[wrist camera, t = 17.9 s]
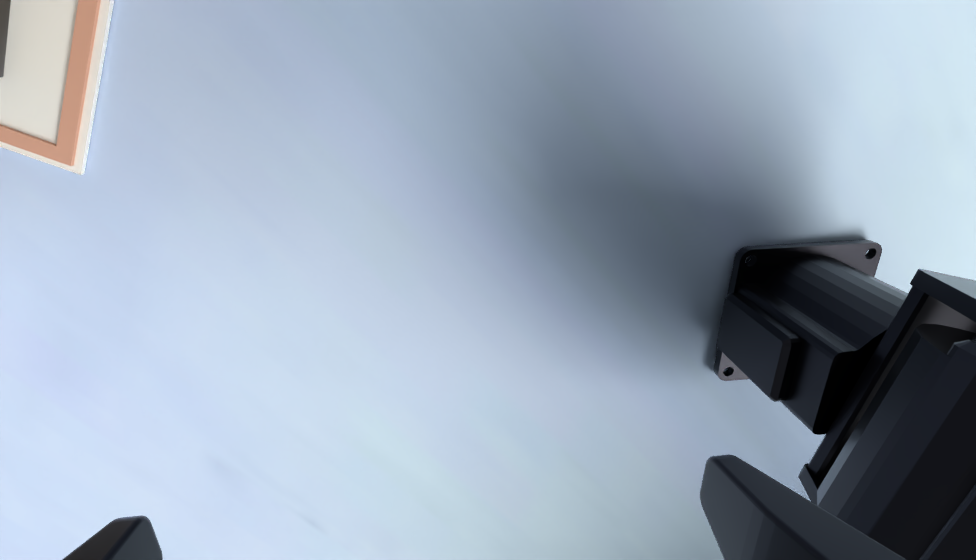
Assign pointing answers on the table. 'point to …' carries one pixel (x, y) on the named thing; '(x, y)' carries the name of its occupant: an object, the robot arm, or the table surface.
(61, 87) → the marked card
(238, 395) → the table surface
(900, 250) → the table surface
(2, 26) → the stamp
